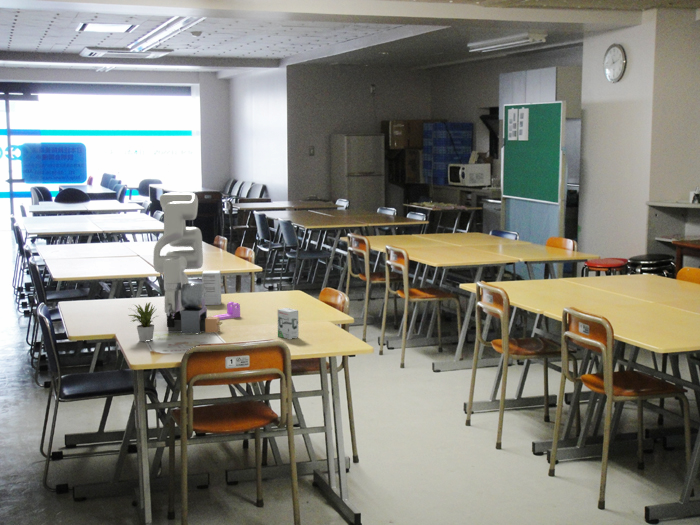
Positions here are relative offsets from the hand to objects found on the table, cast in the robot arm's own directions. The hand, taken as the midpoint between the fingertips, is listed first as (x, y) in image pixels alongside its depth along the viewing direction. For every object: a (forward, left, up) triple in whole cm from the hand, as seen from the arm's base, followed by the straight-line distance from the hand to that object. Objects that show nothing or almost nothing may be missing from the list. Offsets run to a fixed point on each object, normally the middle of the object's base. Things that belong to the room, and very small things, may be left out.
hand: (174, 324), depth 342 cm
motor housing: (0, +9, -3) cm, 9 cm away
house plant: (+19, -6, -3) cm, 20 cm away
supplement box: (-68, -1, -3) cm, 68 cm away
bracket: (-30, +16, -3) cm, 34 cm away
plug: (+1, +10, -3) cm, 10 cm away
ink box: (+10, +52, -3) cm, 53 cm away
